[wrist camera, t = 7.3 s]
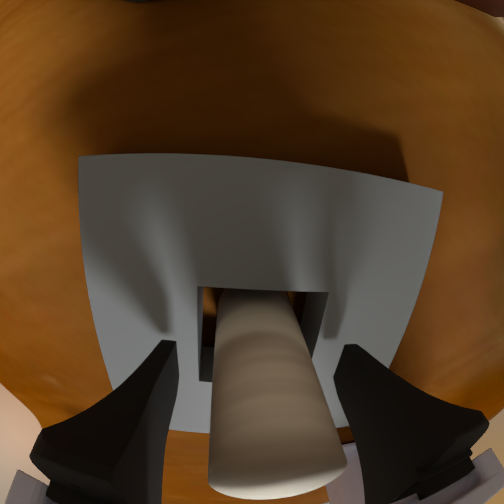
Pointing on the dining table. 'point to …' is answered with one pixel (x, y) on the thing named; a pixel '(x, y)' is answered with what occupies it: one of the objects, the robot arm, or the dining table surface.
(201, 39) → the dining table surface
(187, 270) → the socket block
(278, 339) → the birch dowel
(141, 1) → the potion bottle
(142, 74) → the dining table surface
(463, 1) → the bucket
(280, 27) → the dining table surface
